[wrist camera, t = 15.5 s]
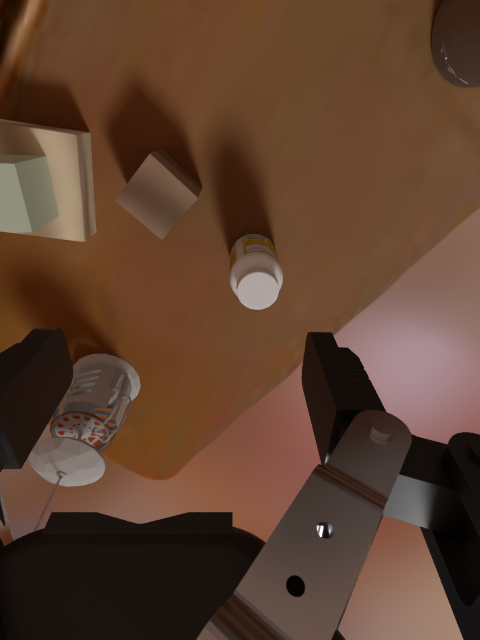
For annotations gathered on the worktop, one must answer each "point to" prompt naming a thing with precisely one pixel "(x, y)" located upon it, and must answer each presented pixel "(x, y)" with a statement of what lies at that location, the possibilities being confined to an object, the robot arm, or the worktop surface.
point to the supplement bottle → (255, 271)
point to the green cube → (25, 193)
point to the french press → (85, 422)
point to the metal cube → (159, 193)
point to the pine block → (58, 174)
